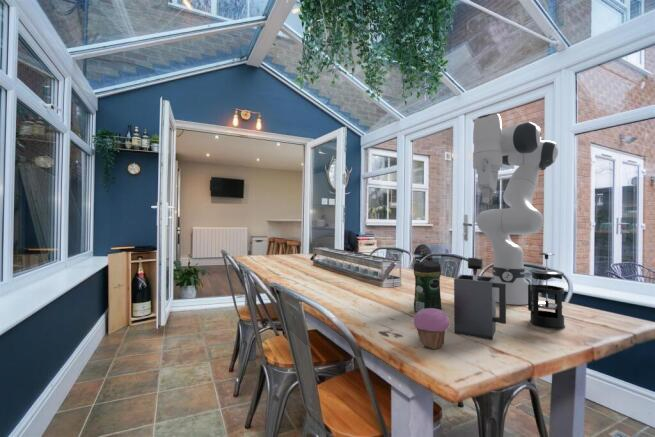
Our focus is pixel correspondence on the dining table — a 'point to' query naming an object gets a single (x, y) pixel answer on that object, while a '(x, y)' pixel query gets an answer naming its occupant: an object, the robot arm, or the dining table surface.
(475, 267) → the plunger
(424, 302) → the coffee jar
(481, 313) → the press pot
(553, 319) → the french press
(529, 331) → the dining table surface
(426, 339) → the cupcake
